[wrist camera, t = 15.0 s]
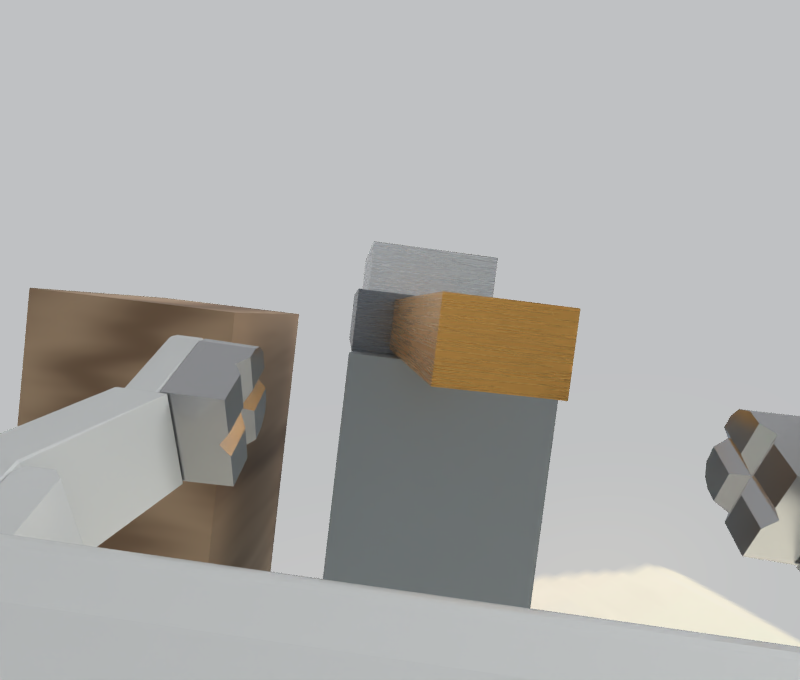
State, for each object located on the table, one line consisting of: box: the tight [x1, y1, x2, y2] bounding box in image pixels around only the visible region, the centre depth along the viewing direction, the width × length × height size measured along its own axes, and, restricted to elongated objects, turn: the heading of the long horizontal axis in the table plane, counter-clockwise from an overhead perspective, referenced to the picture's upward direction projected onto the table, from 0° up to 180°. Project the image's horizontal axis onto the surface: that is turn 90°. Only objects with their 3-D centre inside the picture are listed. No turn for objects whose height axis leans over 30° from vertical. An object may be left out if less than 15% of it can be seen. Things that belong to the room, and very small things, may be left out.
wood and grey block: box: [350, 242, 580, 401], centre depth 21 cm, size 6×20×4 cm, turn 6°
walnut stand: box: [18, 288, 299, 572], centre depth 27 cm, size 8×11×25 cm
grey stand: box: [323, 351, 558, 608], centre depth 26 cm, size 8×11×24 cm
